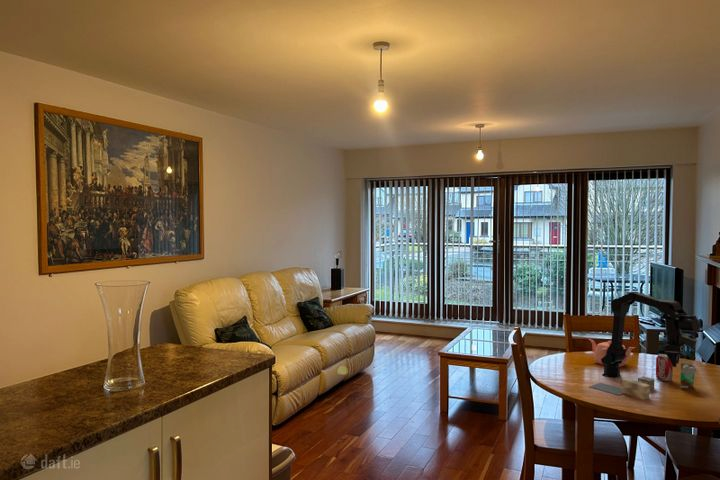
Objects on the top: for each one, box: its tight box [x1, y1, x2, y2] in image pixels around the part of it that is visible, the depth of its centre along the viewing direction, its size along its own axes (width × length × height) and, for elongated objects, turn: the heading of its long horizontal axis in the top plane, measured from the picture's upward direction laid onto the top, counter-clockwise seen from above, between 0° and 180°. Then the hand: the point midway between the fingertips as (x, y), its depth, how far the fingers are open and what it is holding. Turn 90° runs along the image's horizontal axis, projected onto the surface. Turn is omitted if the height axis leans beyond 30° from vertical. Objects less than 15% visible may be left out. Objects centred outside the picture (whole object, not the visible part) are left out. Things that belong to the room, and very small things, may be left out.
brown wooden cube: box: [637, 376, 655, 392], centre depth 231 cm, size 5×5×5 cm
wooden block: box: [621, 377, 651, 400], centre depth 222 cm, size 10×4×6 cm, turn 35°
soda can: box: [655, 353, 674, 382], centre depth 246 cm, size 7×7×12 cm
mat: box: [588, 382, 625, 397], centre depth 230 cm, size 14×10×1 cm
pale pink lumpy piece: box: [588, 338, 636, 368], centre depth 274 cm, size 18×17×12 cm
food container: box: [679, 362, 697, 391], centre depth 234 cm, size 12×6×10 cm, turn 148°
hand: (676, 365), depth 223 cm, fingers open, 9 cm apart
